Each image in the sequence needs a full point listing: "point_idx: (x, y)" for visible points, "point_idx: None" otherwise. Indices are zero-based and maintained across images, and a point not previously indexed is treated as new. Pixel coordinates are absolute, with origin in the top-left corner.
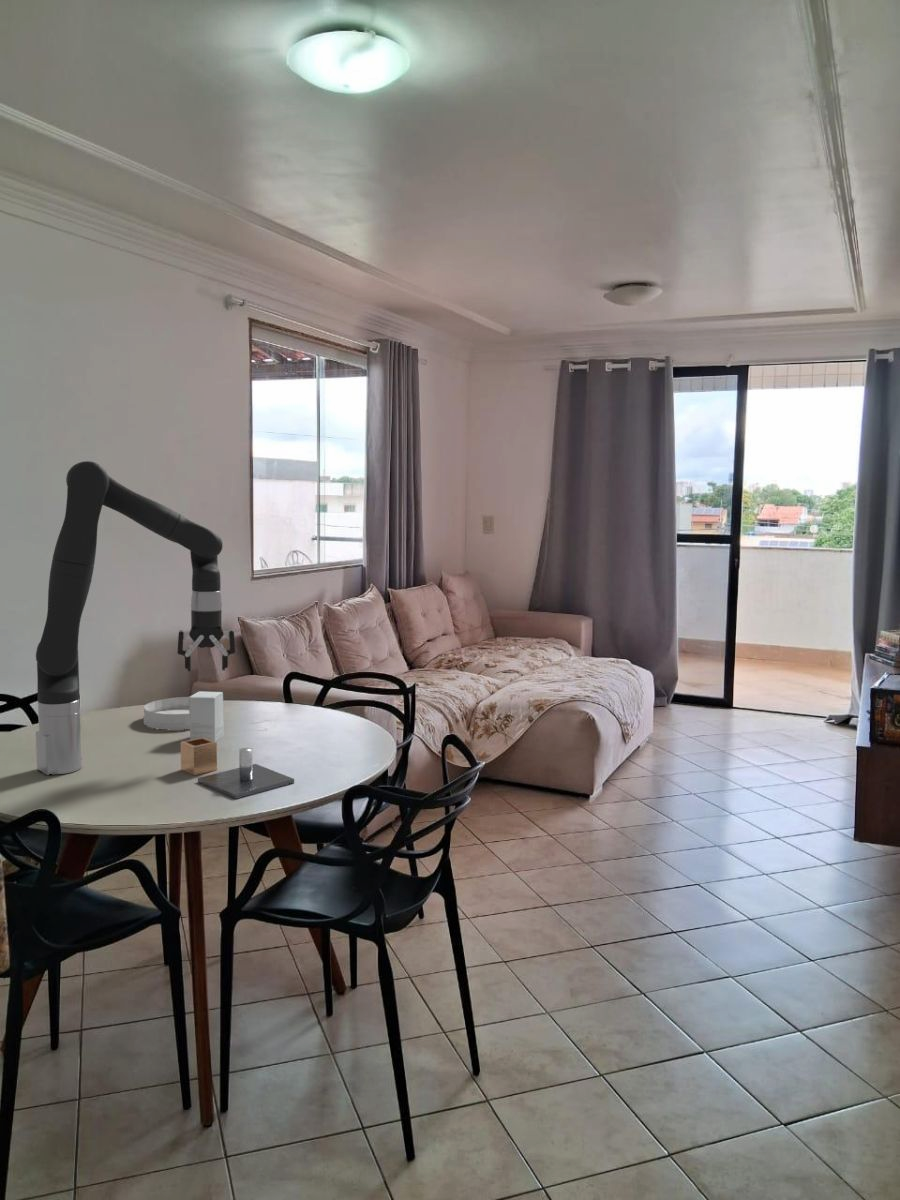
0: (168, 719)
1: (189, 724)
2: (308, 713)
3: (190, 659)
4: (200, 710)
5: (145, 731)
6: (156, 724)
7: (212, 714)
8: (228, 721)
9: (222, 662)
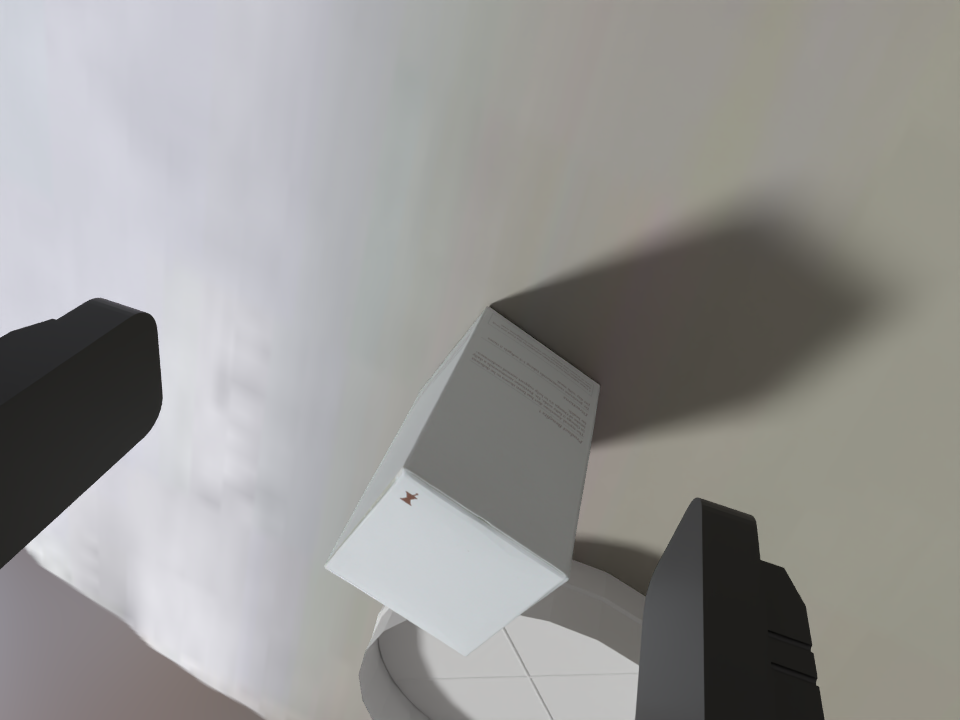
0: (626, 633)
1: None
2: None
3: (704, 708)
4: (517, 461)
5: None
6: None
7: (454, 401)
8: None
9: (27, 381)
